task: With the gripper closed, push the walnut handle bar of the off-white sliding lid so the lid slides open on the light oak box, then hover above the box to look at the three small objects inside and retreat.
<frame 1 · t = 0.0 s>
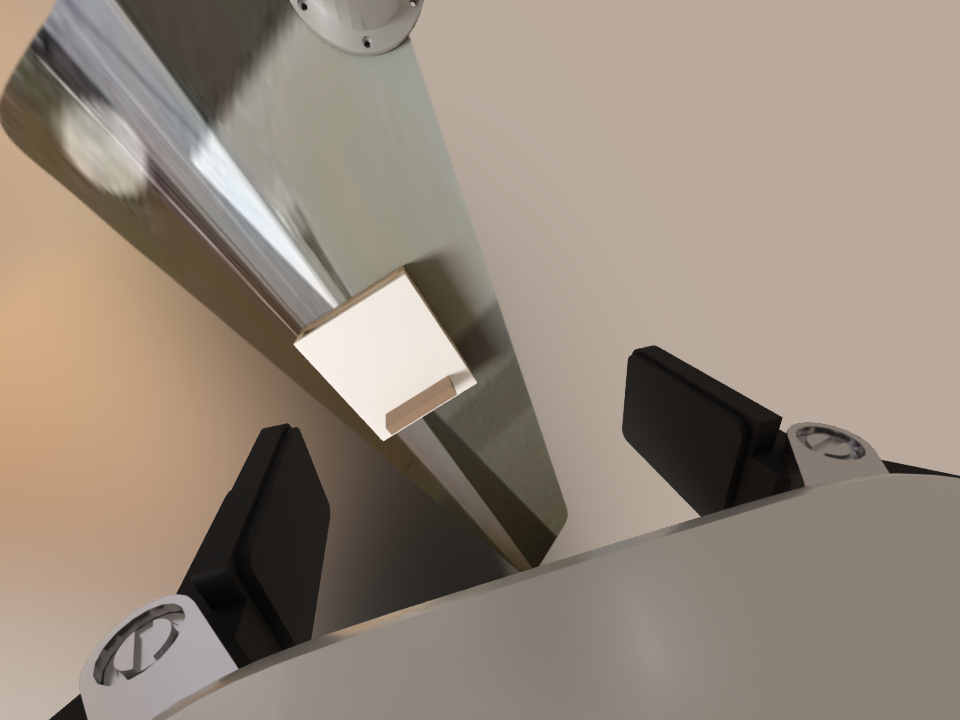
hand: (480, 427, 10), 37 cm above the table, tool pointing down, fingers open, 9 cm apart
sliding lid: (393, 369, 42), point 6 cm above the table, slide at 0.0 cm
oak box: (392, 348, 47), on the table
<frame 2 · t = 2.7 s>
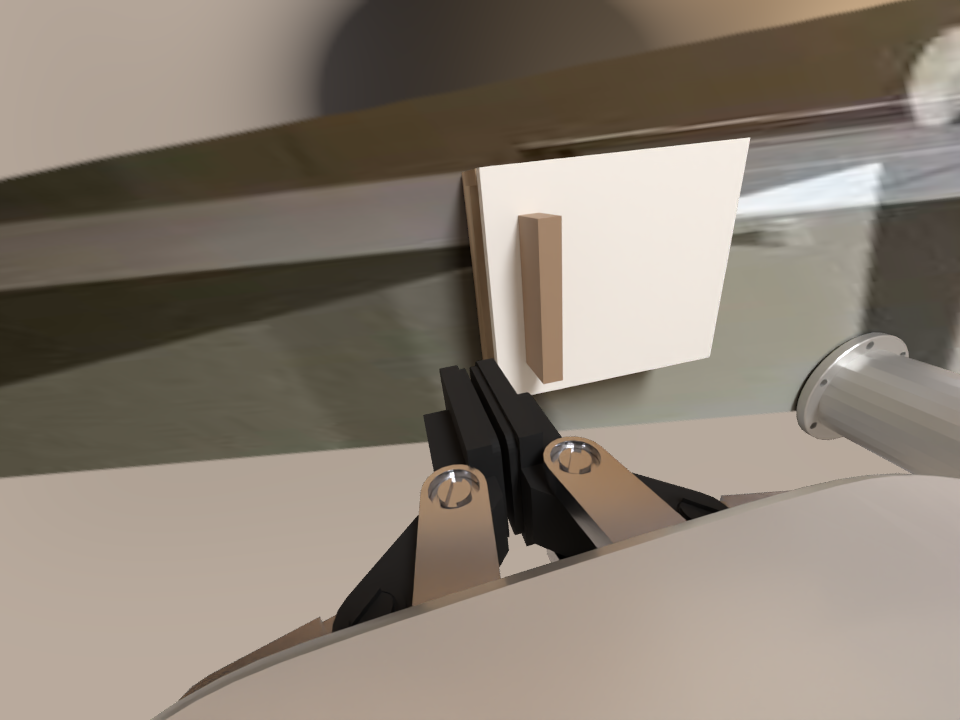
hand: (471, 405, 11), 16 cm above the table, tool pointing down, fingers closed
sliding lid: (626, 283, 22), point 6 cm above the table, slide at 0.0 cm
oak box: (578, 265, 27), on the table
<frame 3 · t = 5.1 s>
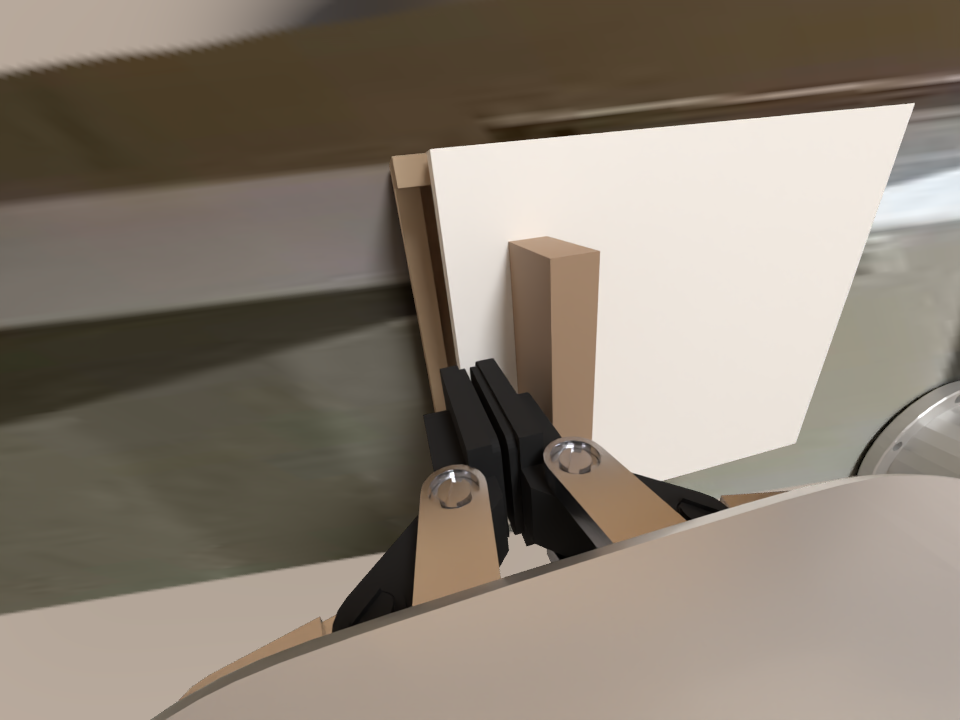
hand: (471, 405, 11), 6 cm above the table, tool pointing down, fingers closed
sliding lid: (694, 355, 13), point 6 cm above the table, slide at 0.9 cm, touching gripper
oak box: (583, 308, 18), on the table
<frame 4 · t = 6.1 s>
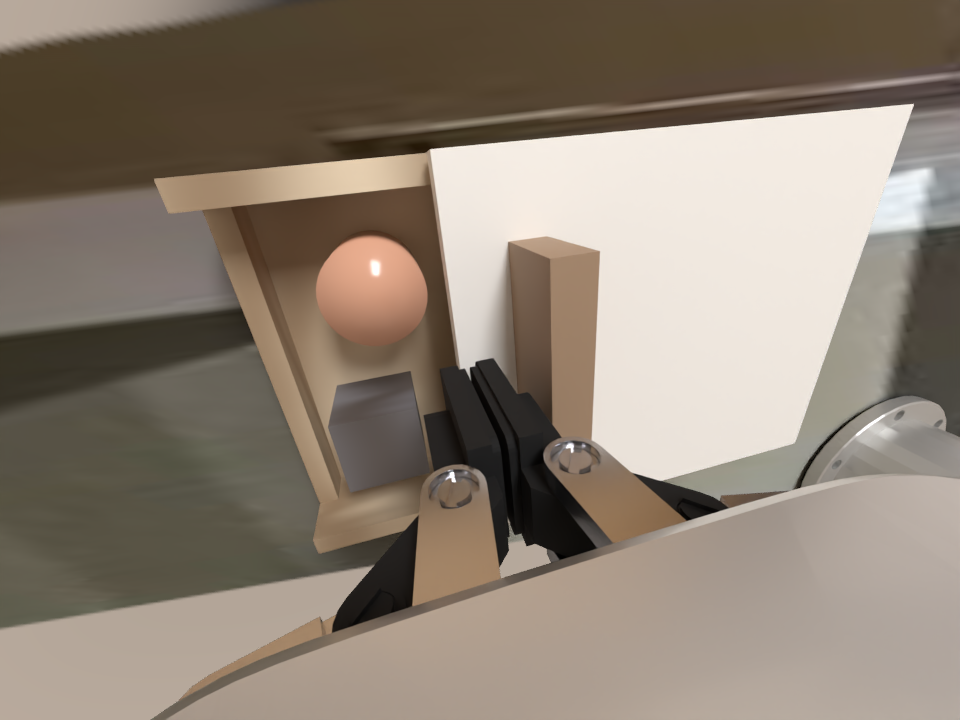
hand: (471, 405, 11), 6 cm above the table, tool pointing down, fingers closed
sliding lid: (693, 355, 13), point 6 cm above the table, slide at 6.8 cm, touching gripper
charcoal block: (382, 408, 17), point 1 cm above the table, touching oak box
oak box: (467, 330, 17), on the table
glossy peach egg: (375, 275, 15), point 1 cm above the table, touching oak box
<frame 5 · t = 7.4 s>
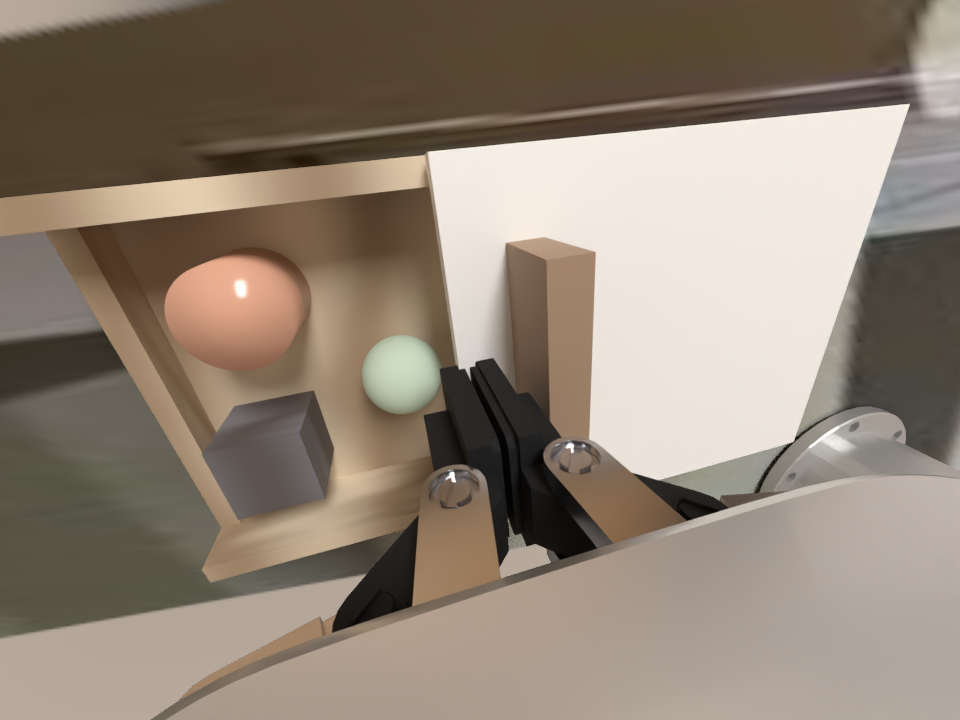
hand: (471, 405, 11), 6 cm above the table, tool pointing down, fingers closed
sliding lid: (691, 355, 13), point 6 cm above the table, slide at 10.9 cm, touching gripper
charcoal block: (287, 428, 16), point 1 cm above the table, touching oak box
oak box: (375, 347, 16), on the table
glossy peach egg: (262, 293, 14), point 1 cm above the table, touching oak box
sage ball: (400, 358, 16), point 1 cm above the table, touching oak box
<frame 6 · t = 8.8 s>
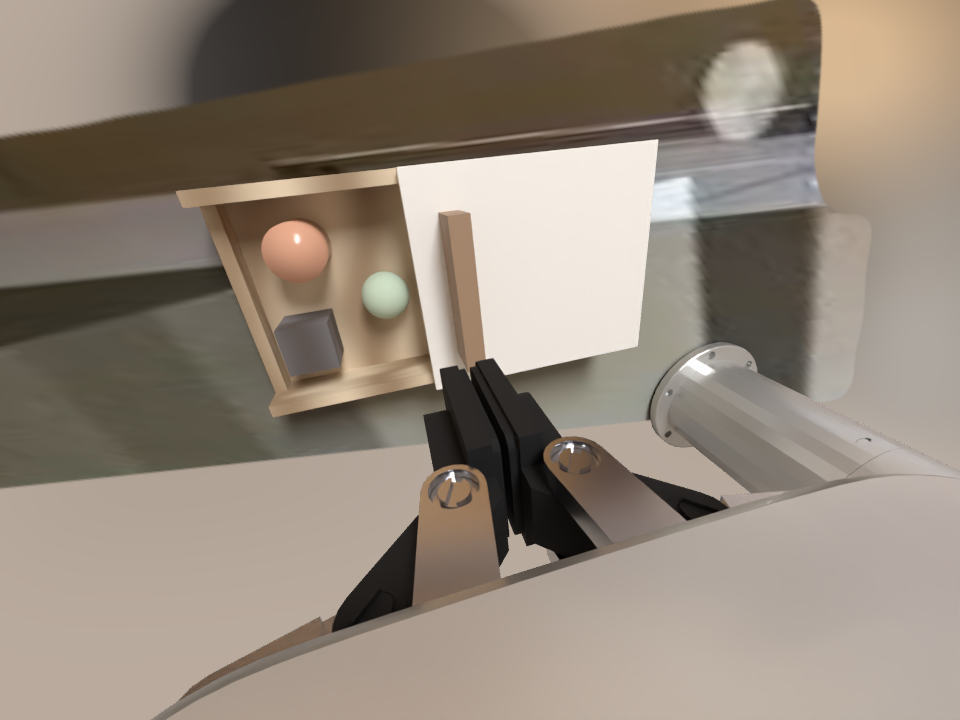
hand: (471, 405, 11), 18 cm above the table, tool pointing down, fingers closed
sliding lid: (546, 277, 23), point 6 cm above the table, slide at 11.1 cm
charcoal block: (315, 333, 27), point 1 cm above the table, touching oak box
oak box: (369, 283, 27), on the table
glossy peach egg: (303, 245, 24), point 1 cm above the table, touching oak box
sage ball: (385, 289, 27), point 1 cm above the table, touching oak box
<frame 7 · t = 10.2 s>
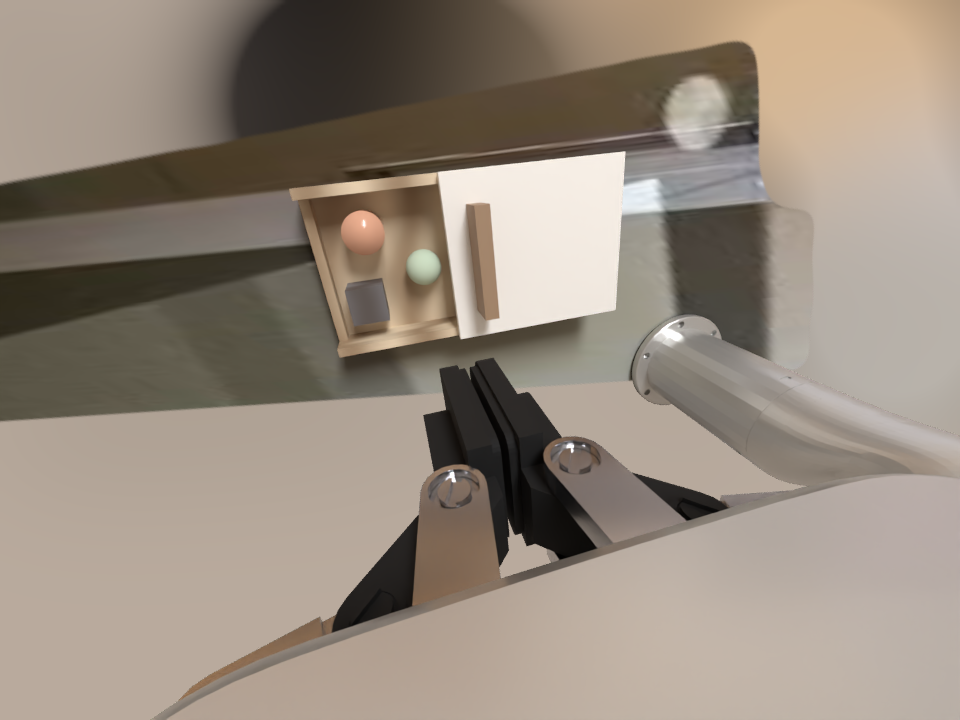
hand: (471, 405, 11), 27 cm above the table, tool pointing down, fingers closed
sliding lid: (543, 252, 32), point 6 cm above the table, slide at 11.1 cm
charcoal block: (369, 297, 35), point 1 cm above the table, touching oak box
oak box: (410, 259, 35), on the table
glossy peach egg: (364, 229, 33), point 1 cm above the table, touching oak box
sage ball: (422, 264, 35), point 1 cm above the table, touching oak box
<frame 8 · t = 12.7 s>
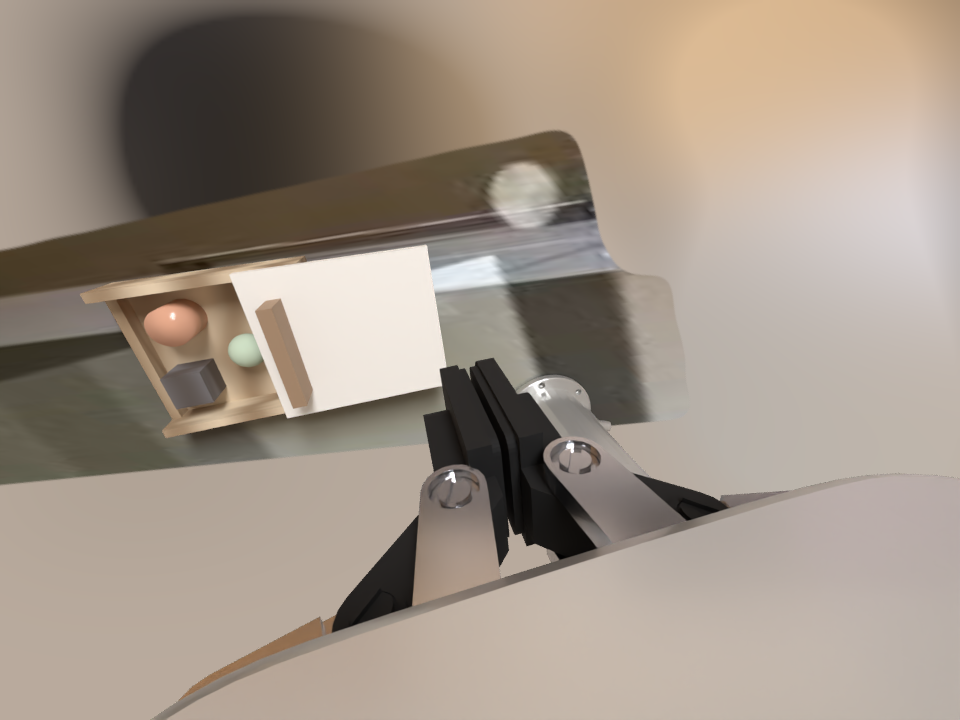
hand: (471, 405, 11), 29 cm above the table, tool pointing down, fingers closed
sliding lid: (352, 340, 33), point 6 cm above the table, slide at 11.1 cm
charcoal block: (202, 375, 36), point 1 cm above the table, touching oak box
oak box: (242, 339, 37), on the table
glossy peach egg: (186, 316, 34), point 1 cm above the table, touching oak box
sage ball: (253, 344, 36), point 1 cm above the table, touching oak box
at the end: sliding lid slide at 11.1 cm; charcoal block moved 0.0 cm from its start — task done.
